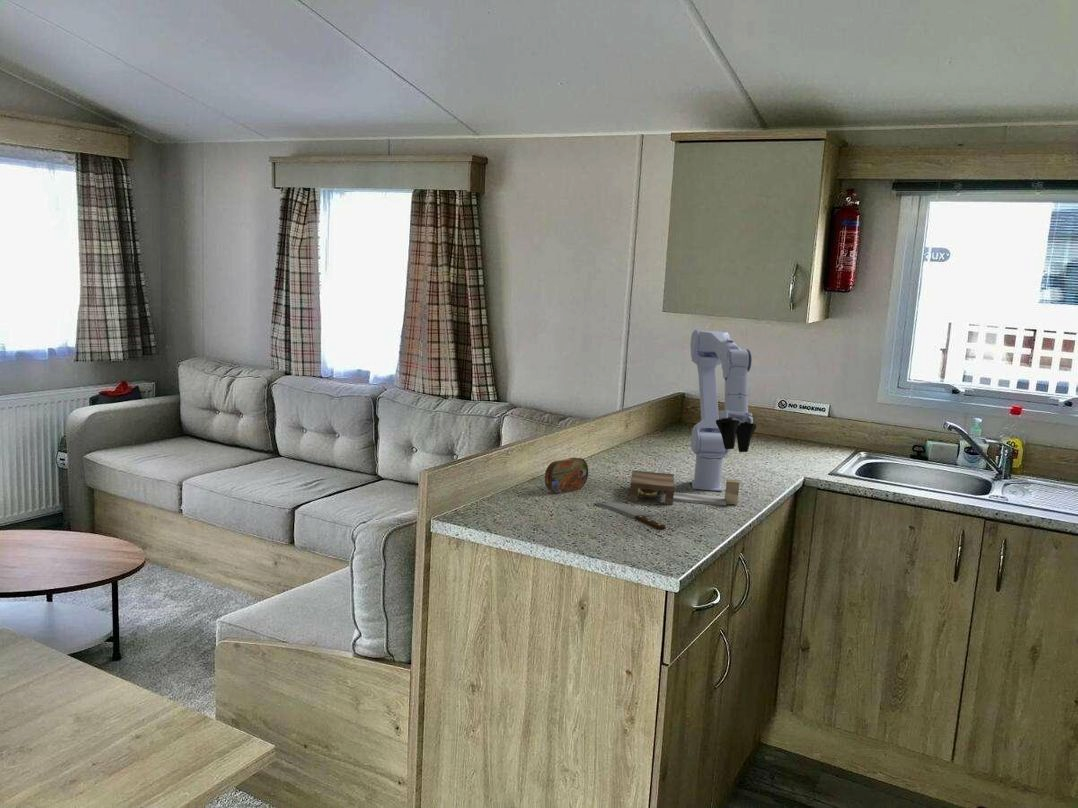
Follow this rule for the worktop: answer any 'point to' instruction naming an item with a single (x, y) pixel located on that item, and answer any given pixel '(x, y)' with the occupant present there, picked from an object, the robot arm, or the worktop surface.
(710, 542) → the worktop surface
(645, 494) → the brass token
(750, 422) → the robot arm
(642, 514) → the kitchen knife
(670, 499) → the low shelf
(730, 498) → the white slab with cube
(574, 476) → the tin
